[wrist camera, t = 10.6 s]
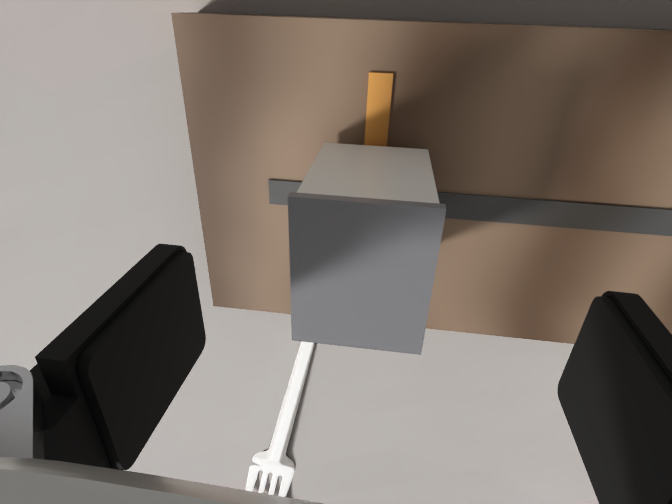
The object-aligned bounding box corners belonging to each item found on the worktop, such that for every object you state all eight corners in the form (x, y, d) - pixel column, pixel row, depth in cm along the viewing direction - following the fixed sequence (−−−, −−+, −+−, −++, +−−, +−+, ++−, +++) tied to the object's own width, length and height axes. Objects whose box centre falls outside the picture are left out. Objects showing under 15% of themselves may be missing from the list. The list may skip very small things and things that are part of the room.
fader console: (1153, 47, 13) (1279, 54, 11) (882, 347, 19) (934, 383, 17) (196, 12, 16) (169, 12, 14) (228, 282, 22) (212, 307, 20)
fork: (354, 294, 22) (350, 316, 20) (284, 504, 32) (278, 530, 30) (293, 277, 22) (285, 298, 20) (243, 492, 32) (234, 518, 30)
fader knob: (431, 146, 14) (446, 208, 10) (414, 261, 17) (421, 354, 12) (321, 139, 15) (287, 196, 10) (320, 252, 17) (291, 340, 13)
